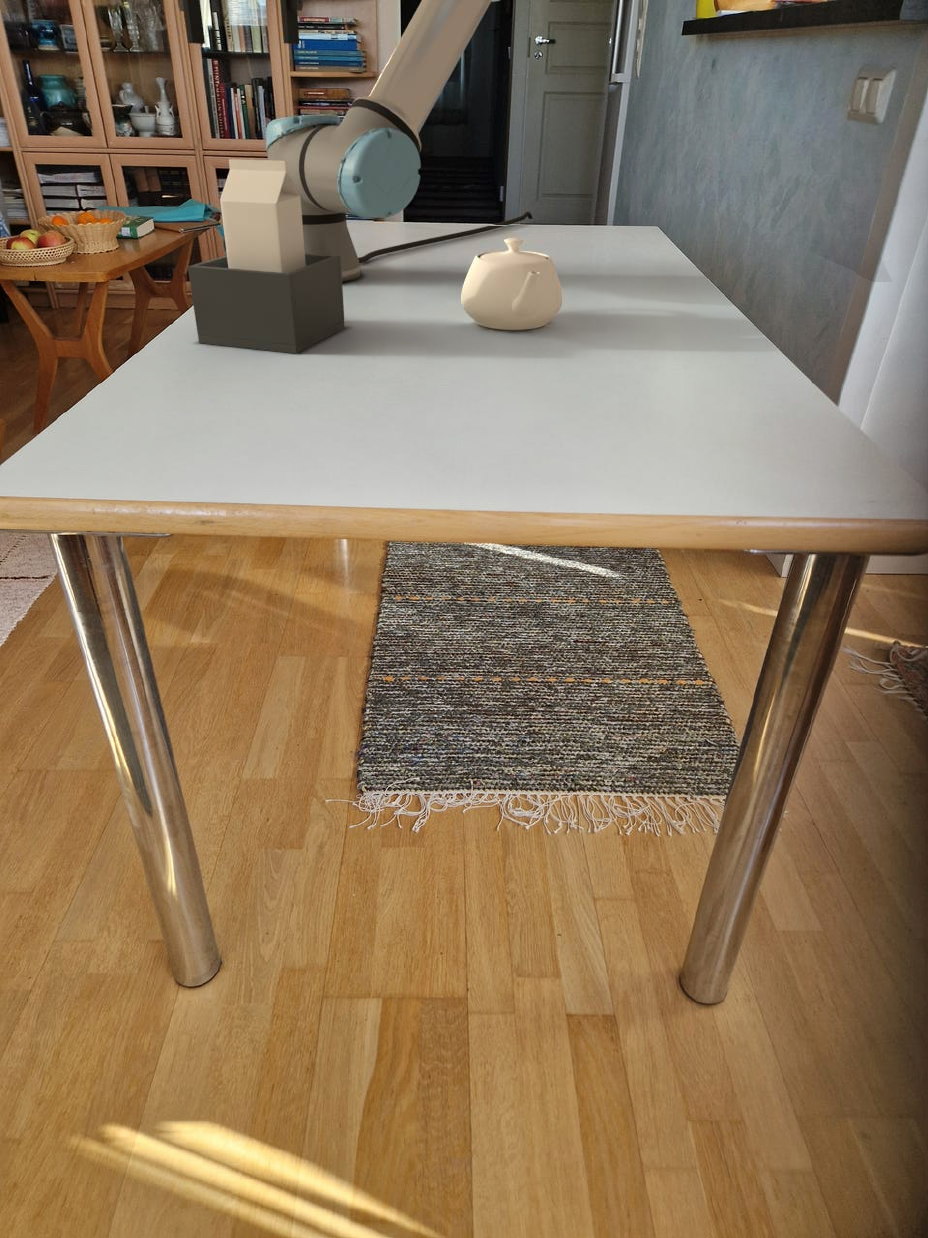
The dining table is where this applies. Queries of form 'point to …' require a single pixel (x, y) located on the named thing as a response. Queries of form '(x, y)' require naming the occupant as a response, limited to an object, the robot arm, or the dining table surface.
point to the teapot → (512, 289)
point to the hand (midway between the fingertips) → (243, 43)
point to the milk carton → (262, 217)
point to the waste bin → (268, 304)
